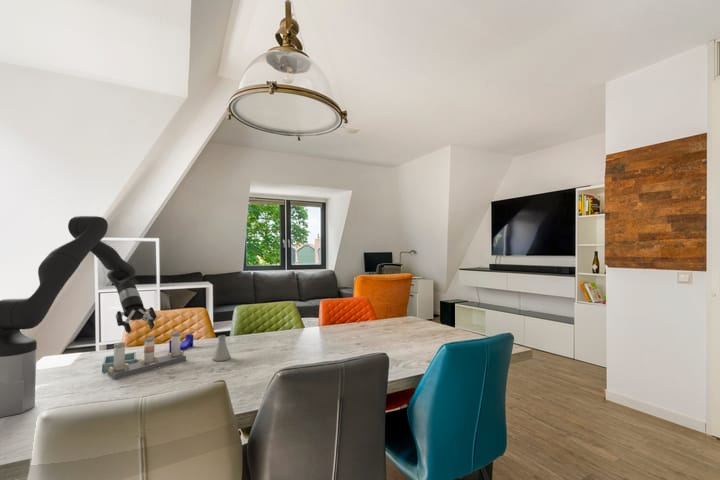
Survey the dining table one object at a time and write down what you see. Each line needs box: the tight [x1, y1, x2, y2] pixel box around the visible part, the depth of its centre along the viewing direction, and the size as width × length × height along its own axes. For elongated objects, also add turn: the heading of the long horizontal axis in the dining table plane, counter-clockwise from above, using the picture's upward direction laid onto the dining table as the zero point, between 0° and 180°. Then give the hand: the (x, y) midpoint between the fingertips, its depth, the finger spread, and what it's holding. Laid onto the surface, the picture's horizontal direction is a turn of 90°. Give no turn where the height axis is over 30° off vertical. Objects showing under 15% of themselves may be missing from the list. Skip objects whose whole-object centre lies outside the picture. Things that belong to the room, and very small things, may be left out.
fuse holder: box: [106, 350, 187, 380], centre depth 136 cm, size 27×8×4 cm, turn 144°
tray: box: [101, 351, 137, 373], centre depth 139 cm, size 12×11×3 cm
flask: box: [212, 334, 232, 362], centre depth 147 cm, size 7×7×10 cm
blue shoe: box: [168, 333, 194, 354], centre depth 161 cm, size 12×4×6 cm, turn 167°
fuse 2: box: [170, 331, 182, 357], centre depth 145 cm, size 4×4×10 cm
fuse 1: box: [113, 341, 126, 371], centre depth 128 cm, size 4×4×10 cm
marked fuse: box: [143, 336, 156, 364], centre depth 137 cm, size 4×4×10 cm
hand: (141, 330), depth 141 cm, fingers open, 8 cm apart
